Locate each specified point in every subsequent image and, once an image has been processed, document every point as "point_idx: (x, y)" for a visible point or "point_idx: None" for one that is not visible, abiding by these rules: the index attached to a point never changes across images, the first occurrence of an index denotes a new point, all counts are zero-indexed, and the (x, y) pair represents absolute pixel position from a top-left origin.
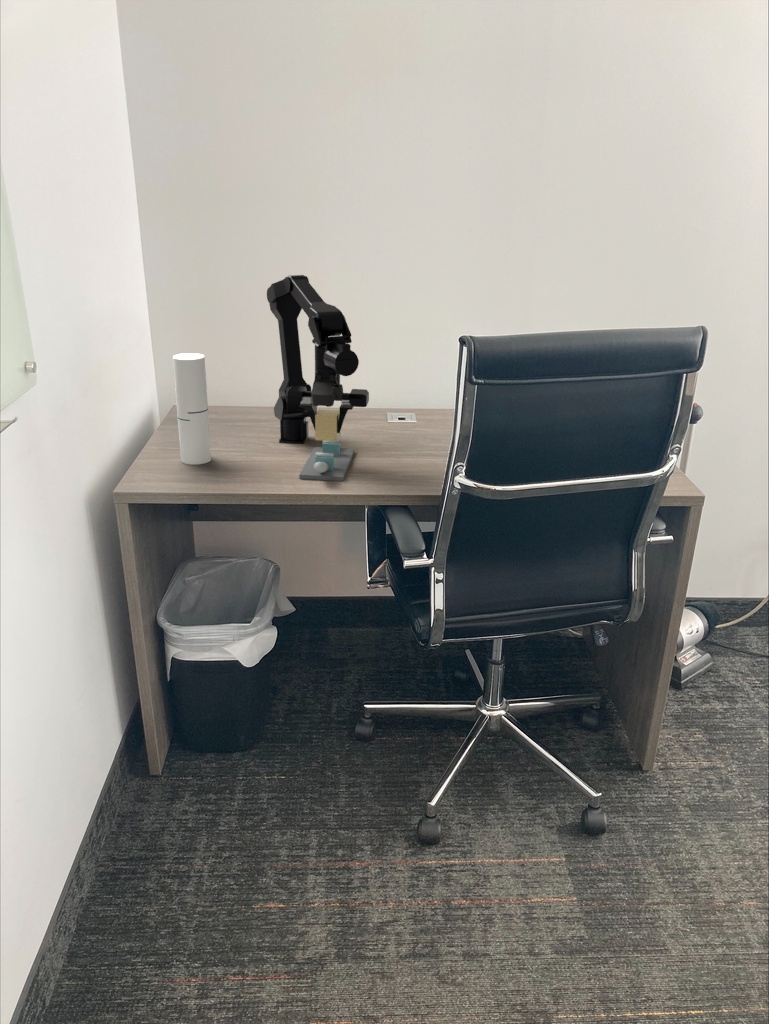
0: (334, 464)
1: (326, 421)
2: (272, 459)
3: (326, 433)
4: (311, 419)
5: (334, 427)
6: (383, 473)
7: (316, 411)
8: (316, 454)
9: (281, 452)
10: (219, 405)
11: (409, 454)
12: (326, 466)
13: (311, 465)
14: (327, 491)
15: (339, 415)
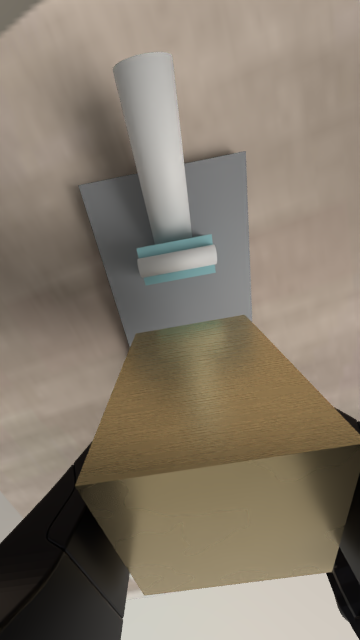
0: (158, 302)
1: (200, 405)
2: (354, 311)
3: (190, 343)
4: (349, 419)
5: (133, 380)
6: (8, 307)
7: (346, 537)
8: (210, 245)
9: (333, 366)
10: None
11: (32, 442)
12: (137, 171)
13: (227, 269)
14: (84, 27)
15: (77, 519)
